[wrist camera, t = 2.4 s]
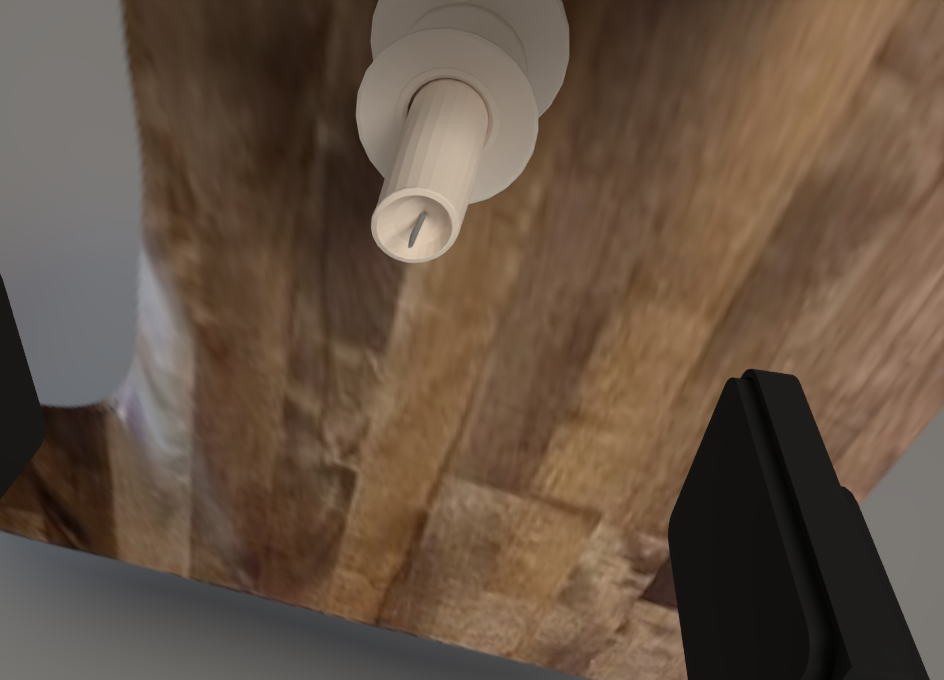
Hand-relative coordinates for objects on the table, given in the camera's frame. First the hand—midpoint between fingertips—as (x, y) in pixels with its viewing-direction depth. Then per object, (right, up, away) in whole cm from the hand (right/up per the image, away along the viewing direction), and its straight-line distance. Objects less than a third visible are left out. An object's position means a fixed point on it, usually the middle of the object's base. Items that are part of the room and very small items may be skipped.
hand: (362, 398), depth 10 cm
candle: (+1, +9, +10) cm, 14 cm away
